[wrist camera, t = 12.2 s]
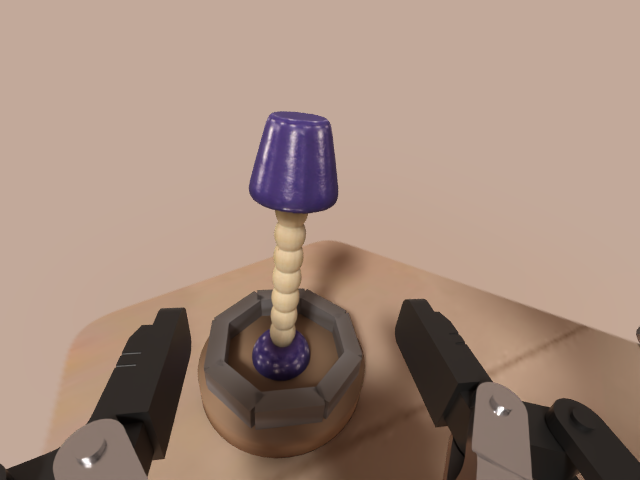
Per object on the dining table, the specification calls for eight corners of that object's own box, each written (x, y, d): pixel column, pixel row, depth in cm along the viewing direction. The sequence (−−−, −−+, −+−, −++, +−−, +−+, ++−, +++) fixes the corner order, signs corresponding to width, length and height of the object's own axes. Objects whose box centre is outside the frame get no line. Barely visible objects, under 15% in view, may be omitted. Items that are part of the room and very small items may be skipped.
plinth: (341, 311, 30) (346, 281, 28) (382, 444, 20) (394, 410, 18) (213, 318, 28) (209, 285, 26) (184, 471, 17) (174, 436, 16)
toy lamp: (286, 321, 25) (295, 105, 17) (330, 353, 23) (366, 120, 14) (239, 357, 22) (221, 109, 14) (285, 398, 20) (297, 129, 11)
